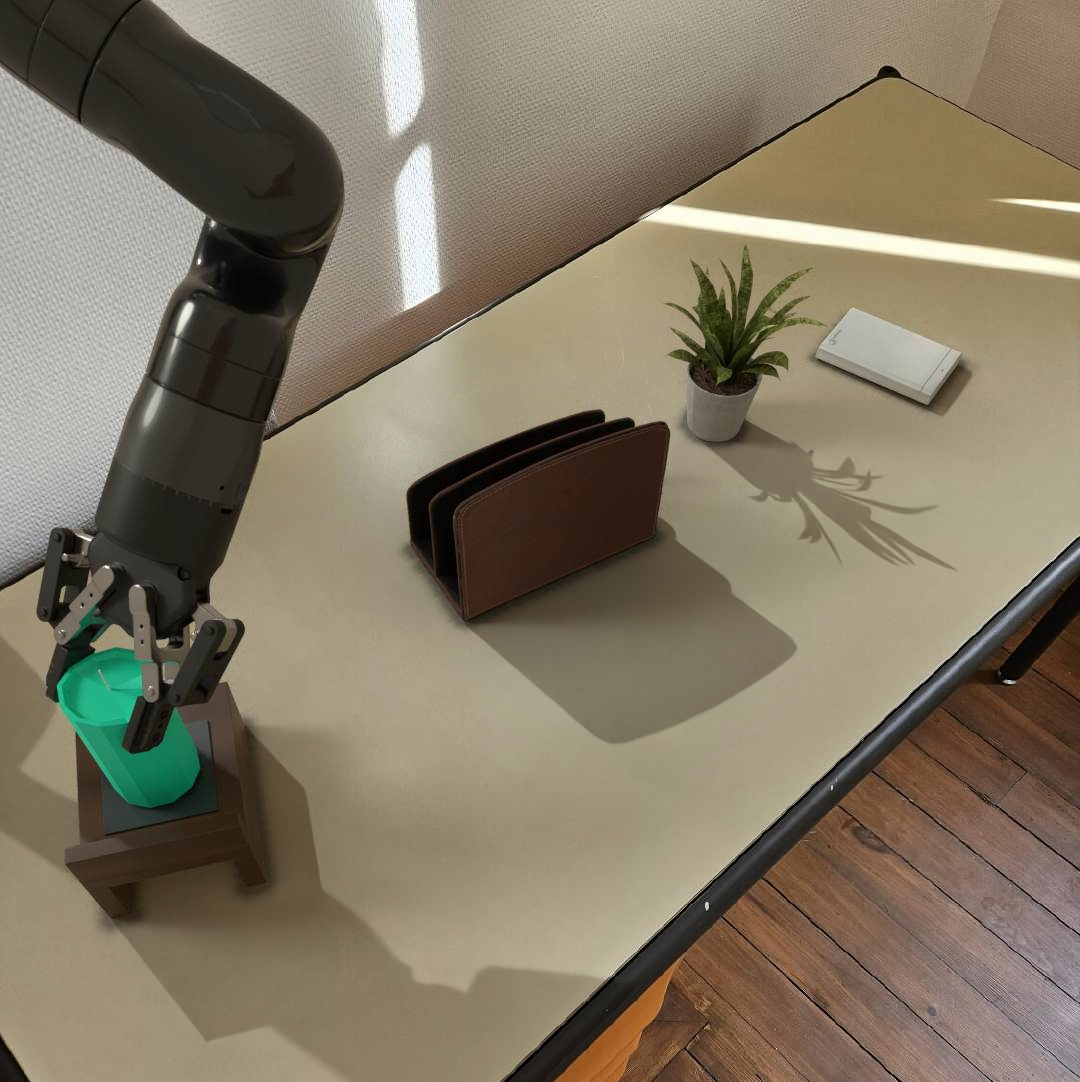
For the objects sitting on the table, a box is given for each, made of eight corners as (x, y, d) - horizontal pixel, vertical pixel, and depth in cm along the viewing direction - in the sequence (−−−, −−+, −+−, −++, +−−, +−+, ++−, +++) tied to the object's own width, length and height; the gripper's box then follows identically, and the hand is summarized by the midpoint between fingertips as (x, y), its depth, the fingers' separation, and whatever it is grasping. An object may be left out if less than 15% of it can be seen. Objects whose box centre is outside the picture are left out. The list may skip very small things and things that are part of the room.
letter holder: (657, 537, 95) (677, 415, 83) (463, 625, 89) (456, 506, 78) (597, 469, 100) (609, 343, 88) (409, 547, 94) (394, 424, 82)
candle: (106, 809, 72) (38, 714, 62) (119, 734, 75) (57, 632, 65) (195, 806, 72) (142, 710, 62) (205, 731, 75) (156, 629, 65)
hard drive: (818, 346, 108) (931, 394, 104) (853, 305, 111) (964, 349, 108) (814, 359, 109) (926, 407, 105) (849, 318, 113) (958, 363, 109)
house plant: (820, 406, 105) (866, 256, 91) (771, 494, 98) (812, 347, 85) (687, 360, 108) (713, 210, 95) (631, 443, 102) (650, 294, 88)
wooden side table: (101, 753, 82) (59, 688, 74) (244, 724, 84) (217, 657, 76) (110, 918, 75) (64, 864, 67) (266, 882, 76) (239, 825, 69)
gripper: (43, 413, 60) (-33, 675, 65) (234, 521, 56) (138, 792, 60) (139, 431, 67) (65, 667, 71) (315, 528, 63) (224, 771, 67)
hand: (99, 723), depth 66 cm, fingers closed on candle, 6 cm apart
